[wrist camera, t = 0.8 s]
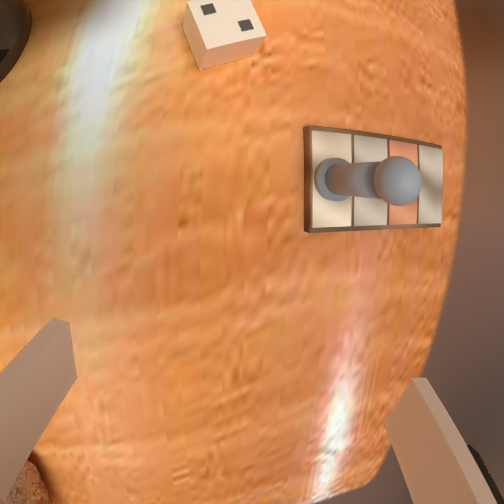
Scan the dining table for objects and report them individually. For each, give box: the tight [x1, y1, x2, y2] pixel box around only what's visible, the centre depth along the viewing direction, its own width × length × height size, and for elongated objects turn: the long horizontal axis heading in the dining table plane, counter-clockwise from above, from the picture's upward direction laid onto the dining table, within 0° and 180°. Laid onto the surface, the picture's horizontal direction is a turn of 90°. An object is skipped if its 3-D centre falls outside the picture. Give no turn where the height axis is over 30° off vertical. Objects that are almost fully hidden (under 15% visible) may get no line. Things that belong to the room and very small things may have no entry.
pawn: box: [314, 156, 422, 206], centre depth 28 cm, size 5×5×13 cm
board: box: [304, 126, 443, 233], centre depth 38 cm, size 12×22×2 cm, turn 90°
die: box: [182, 0, 267, 71], centre depth 27 cm, size 6×6×6 cm
